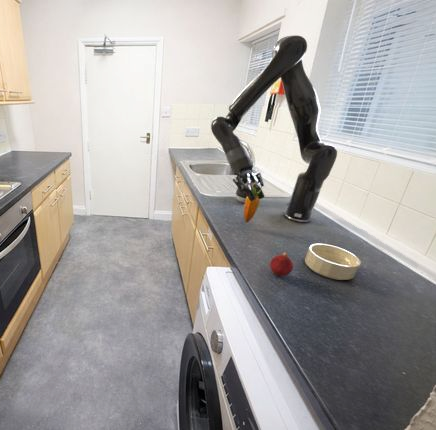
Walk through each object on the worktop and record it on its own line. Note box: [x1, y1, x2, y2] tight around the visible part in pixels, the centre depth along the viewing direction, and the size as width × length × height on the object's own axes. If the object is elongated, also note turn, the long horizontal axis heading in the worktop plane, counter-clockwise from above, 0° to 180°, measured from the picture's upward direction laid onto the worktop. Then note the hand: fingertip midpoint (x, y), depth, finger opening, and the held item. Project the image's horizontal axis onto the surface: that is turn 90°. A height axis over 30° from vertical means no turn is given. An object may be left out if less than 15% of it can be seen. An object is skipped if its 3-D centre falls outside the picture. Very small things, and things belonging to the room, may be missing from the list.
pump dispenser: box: [235, 181, 258, 204], centre depth 133 cm, size 10×10×15 cm
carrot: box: [243, 187, 263, 224], centre depth 105 cm, size 5×5×15 cm
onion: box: [269, 252, 294, 277], centre depth 79 cm, size 6×6×8 cm
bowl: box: [304, 243, 362, 281], centre depth 83 cm, size 13×13×6 cm
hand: (257, 198), depth 101 cm, fingers closed on carrot, 4 cm apart
